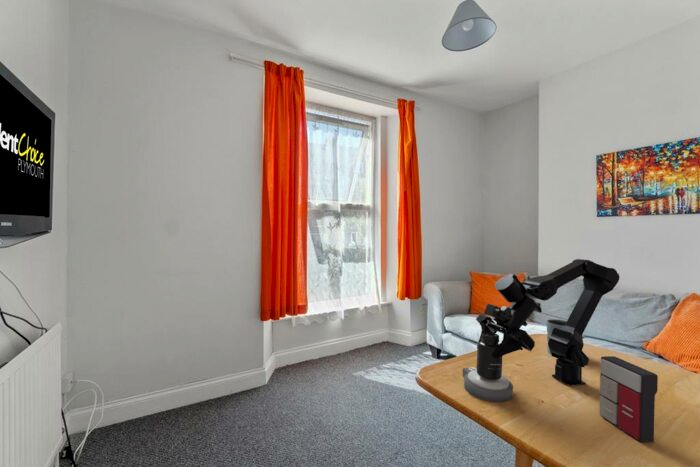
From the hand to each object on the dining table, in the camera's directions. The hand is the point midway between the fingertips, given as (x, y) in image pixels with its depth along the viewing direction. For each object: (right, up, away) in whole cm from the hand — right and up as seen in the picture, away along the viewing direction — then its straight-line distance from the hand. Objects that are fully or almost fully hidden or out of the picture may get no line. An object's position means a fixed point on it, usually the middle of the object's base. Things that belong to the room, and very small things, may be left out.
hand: (485, 352), depth 93 cm
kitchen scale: (+1, -11, +2) cm, 11 cm away
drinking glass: (+42, -12, +30) cm, 53 cm away
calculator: (+26, -12, -17) cm, 33 cm away
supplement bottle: (+1, -7, 0) cm, 7 cm away
